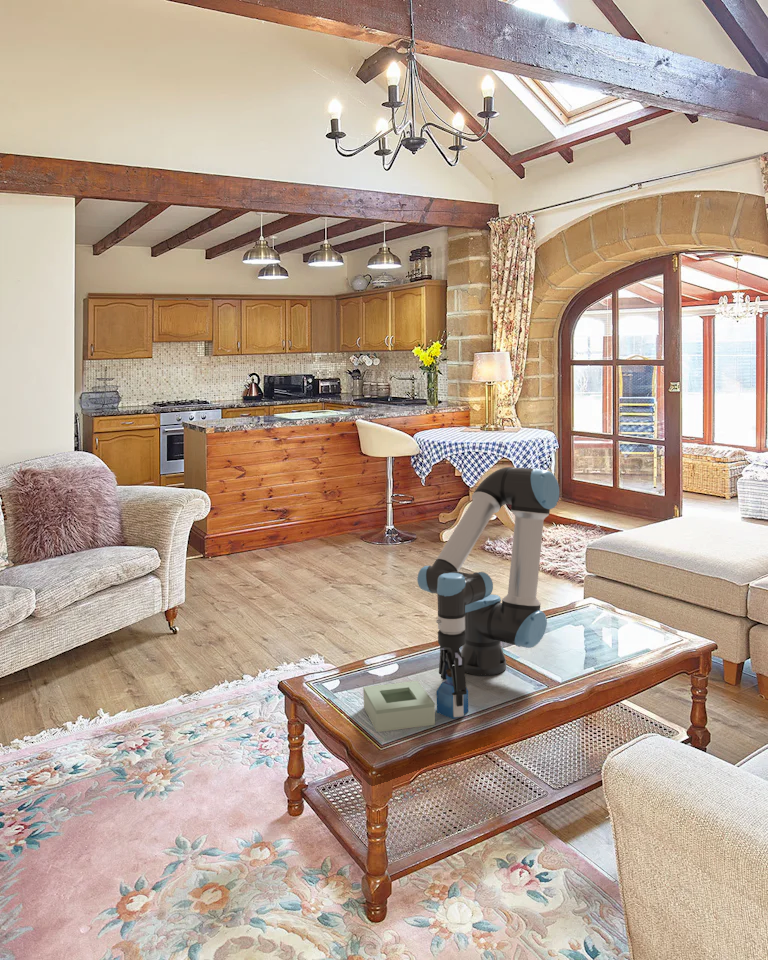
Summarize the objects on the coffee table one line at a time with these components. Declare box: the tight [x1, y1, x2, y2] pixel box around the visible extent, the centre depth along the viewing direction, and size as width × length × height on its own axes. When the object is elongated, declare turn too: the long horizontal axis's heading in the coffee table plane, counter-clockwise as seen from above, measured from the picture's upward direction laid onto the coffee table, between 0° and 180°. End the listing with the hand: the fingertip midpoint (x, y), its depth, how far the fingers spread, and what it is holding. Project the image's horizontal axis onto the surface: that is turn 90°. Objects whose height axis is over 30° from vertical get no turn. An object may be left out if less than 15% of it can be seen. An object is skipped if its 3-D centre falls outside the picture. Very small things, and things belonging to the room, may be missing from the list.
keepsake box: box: [362, 680, 436, 733], centre depth 207 cm, size 16×16×6 cm
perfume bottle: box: [436, 669, 469, 720], centre depth 208 cm, size 6×6×12 cm
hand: (452, 708), depth 209 cm, fingers open, 9 cm apart
